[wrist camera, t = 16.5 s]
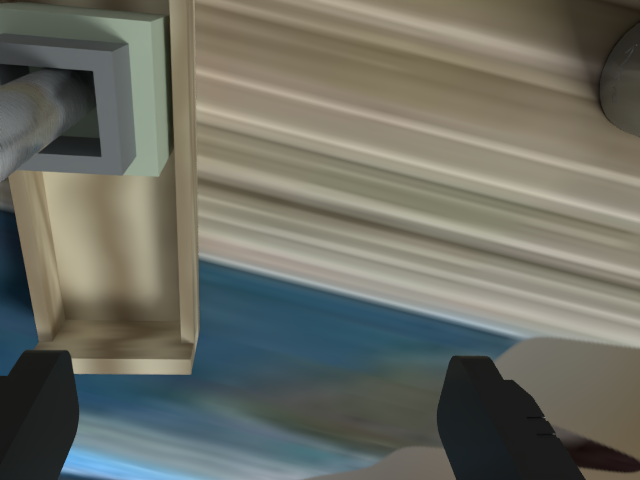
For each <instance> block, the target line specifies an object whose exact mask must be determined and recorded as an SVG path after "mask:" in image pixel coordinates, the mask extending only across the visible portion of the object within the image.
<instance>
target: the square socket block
mask: <svg viewBox="0 0 640 480" xmlns="http://www.w3.org/2000/svg"><path fill="white" fill-rule="evenodd" d="M44 67H49V68H62V69H74V70H87V71H93V75H94V85H95V94H96V104H97V106H96V107H95V108H94V109H93V110H91V111H90V112H89V113H88V114H86V115H85V116H84V117H83V118H81V119H80V120H79V121H77V122H76V123H75V124H74V125H72V126H71V127H70V128H69V129H67V130H66V131H65V132H64V133H62V134H61V135H60V136H59V137H57V138H56V139H55V140H54V141H52V142H51V143H50V144H49V145H47V146H46V147H45V148H44V149H42V150H41V151H40V152H39V153H37V154H36V155H35V156H33V157H32V158H31V159H30V160H28V161H27V162H26V163H25V164H23V165H22V166H21V167H20V168H18V169H17V170H24V171H43V172H62V173H81V174H100V175H118V176H123V175H134V176H153V177H159V175H160V173H161V171H162V169H163V168H164V166H165V164H166V162H167V160H168V158H169V156H170V155H171V153H172V151H173V149H174V145H173V117H172V89H171V60H170V32H169V15H162V14H151V13H140V12H129V11H118V10H107V9H97V8H86V7H75V6H64V5H53V4H43V3H32V2H12V3H1V4H0V86H1V85H4V84H6V83H8V82H11V81H13V80H15V79H18V78H20V77H23V76H25V75H27V74H30V73H32V72H34V71H37V70H39V69H41V68H44Z"/></svg>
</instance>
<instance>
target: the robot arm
mask: <svg viewBox="0 0 640 480" xmlns="http://www.w3.org/2000/svg"><path fill="white" fill-rule="evenodd" d="M600 101H601V106H602V109H603V111H604V113H605V115H606V117H607V118H608V119H609V120H610V121H611V123H612V124H613V125H615V126H616V127H618V128H619V129H621V130H623V131H626V132H628V133H630V134H633V135H635V136H637V137H640V22H639V23H638V24H636V25H635V26H634V27H633V28H632V29H630V30H629V31H628V32H627V33H626V34H625V35H624V36H623V37H622V38H621V39H620V41H619V42H618V43H617V44H616V46H615V47H614V49H613V50H612V52H611V54H610V55H609V57H608V59H607V61H606V64H605V66H604V69H603V72H602V76H601V80H600ZM78 421H79V404H78V397H77V391H76V384H75V378H74V371H73V365H72V359H71V355H70V353H69V351H67V350H26V351H24V352H23V353H22V355H21V356H20V358H19V359H18V361H17V362H16V364H15V365H14V367H13V368H12V370H11V371H10V373H9V374H8V376H0V480H58V477H59V475H60V472H61V470H62V468H63V465H64V463H65V460H66V458H67V455H68V453H69V451H70V448H71V446H72V443H73V441H74V438H75V435H76V432H77V427H78ZM437 425H438V431H439V435H440V438H441V441H442V444H443V446H444V449H445V451H446V454H447V457H448V459H449V462H450V464H451V467H452V469H453V472H454V475H455V477H456V480H586V479H585V478H584V476H583V475H582V473H581V472H580V470H579V469H578V467H577V465H576V464H575V462H574V461H573V459H572V458H571V456H570V455H569V453H568V451H567V450H566V448H565V447H564V445H563V444H562V442H561V441H560V439H559V438H557V437H556V433H555V431H554V430H553V428H552V427H551V425H550V423H549V422H548V421H546V420H545V416H544V414H543V413H542V411H541V410H540V408H539V406H538V405H537V403H536V402H535V400H534V398H533V397H532V396H531V395H530V394H528V393H527V392H526V391H525V390H524V389H523V388H521V387H520V386H519V385H518V384H517V383H516V382H514V381H513V380H504V379H503V378H502V376H501V375H500V373H499V371H498V369H497V368H496V366H495V364H494V363H493V361H492V360H491V359H490V358H489V357H488V356H453V357H452V358H451V360H450V362H449V365H448V369H447V373H446V377H445V381H444V385H443V389H442V392H441V396H440V400H439V404H438V409H437Z"/></svg>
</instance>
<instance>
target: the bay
mask: <svg viewBox="0 0 640 480" xmlns="http://www.w3.org/2000/svg"><path fill="white" fill-rule="evenodd" d="M12 2H32V3H43V4H53V5H64V6H75V7H86V8H97V9H107V10H118V11H129V12H140V13H151V14H162V15H169V32H170V60H171V89H172V117H173V145H174V149H173V151H172V153H171V155H170V156H169V158H168V160H167V162H166V164H165V166H164V168H163V169H162V171H161V173H160V175H159V177H153V176H134V175H123V176H118V175H100V174H81V173H62V172H43V171H24V170H16V171H15V172H13V173H12V174H11V175H10V176H8V178H9V184H10V189H11V194H12V200H13V205H14V210H15V216H16V221H17V226H18V232H19V237H20V242H21V248H22V253H23V258H24V264H25V269H26V274H27V280H28V285H29V290H30V296H31V301H32V306H33V312H34V317H35V322H36V328H37V333H38V338H39V343H38V344H37V346H36V347H35V349H34V350H67V351H69V353H70V355H71V359H72V365H73V371H74V374H191V371H192V366H193V361H194V355H195V350H196V345H197V339H198V334H199V266H198V199H197V132H196V65H195V0H0V4H1V3H12Z"/></svg>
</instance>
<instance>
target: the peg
mask: <svg viewBox="0 0 640 480" xmlns="http://www.w3.org/2000/svg"><path fill="white" fill-rule="evenodd" d="M96 106H97V104H96V94H95V85H94V75H93V71H87V70H74V69H62V68H49V67H44V68H41V69H39V70H37V71H34V72H32V73H30V74H27V75H25V76H23V77H20V78H18V79H15V80H13V81H11V82H8V83H6V84H4V85H1V86H0V183H1V182H2V181H3V180H5V179H6V178H7V177H8V176H10V175H11V174H12V173H13V172H15V171H16V170H17V169H18V168H20V167H21V166H22V165H23V164H25V163H26V162H27V161H28V160H30V159H31V158H32V157H33V156H35V155H36V154H37V153H39V152H40V151H41V150H42V149H44V148H45V147H46V146H47V145H49V144H50V143H51V142H52V141H54V140H55V139H56V138H57V137H59V136H60V135H61V134H62V133H64V132H65V131H66V130H67V129H69V128H70V127H71V126H72V125H74V124H75V123H76V122H77V121H79V120H80V119H81V118H83V117H84V116H85V115H86V114H88V113H89V112H90V111H91V110H93V109H94V108H95V107H96Z"/></svg>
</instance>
